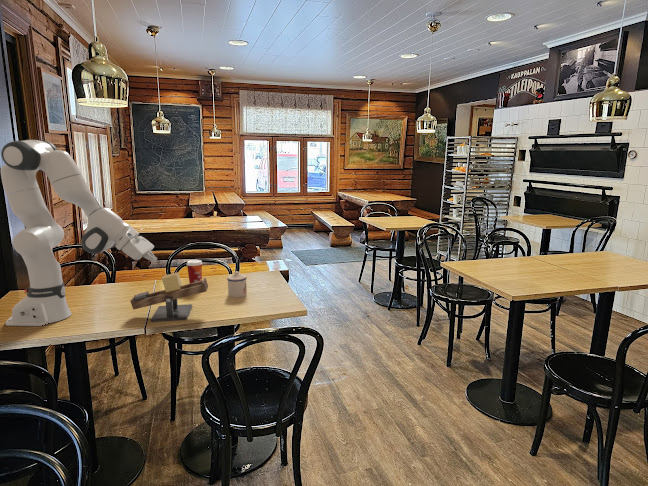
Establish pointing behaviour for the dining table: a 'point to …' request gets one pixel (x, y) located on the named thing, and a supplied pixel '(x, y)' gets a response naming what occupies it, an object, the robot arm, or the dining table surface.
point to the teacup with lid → (237, 285)
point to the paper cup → (194, 270)
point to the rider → (172, 282)
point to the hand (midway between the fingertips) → (155, 260)
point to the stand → (171, 311)
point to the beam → (171, 294)
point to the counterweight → (142, 296)
